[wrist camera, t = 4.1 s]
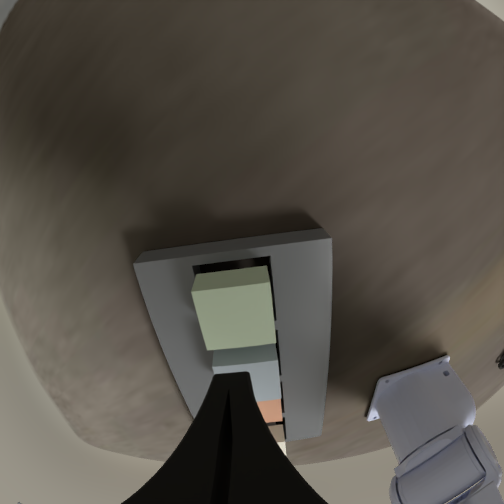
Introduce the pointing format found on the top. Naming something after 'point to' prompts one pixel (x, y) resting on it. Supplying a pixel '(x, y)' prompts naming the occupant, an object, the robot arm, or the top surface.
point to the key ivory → (278, 434)
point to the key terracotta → (271, 410)
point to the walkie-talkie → (501, 363)
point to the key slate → (252, 368)
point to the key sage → (235, 308)
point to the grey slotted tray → (284, 310)
